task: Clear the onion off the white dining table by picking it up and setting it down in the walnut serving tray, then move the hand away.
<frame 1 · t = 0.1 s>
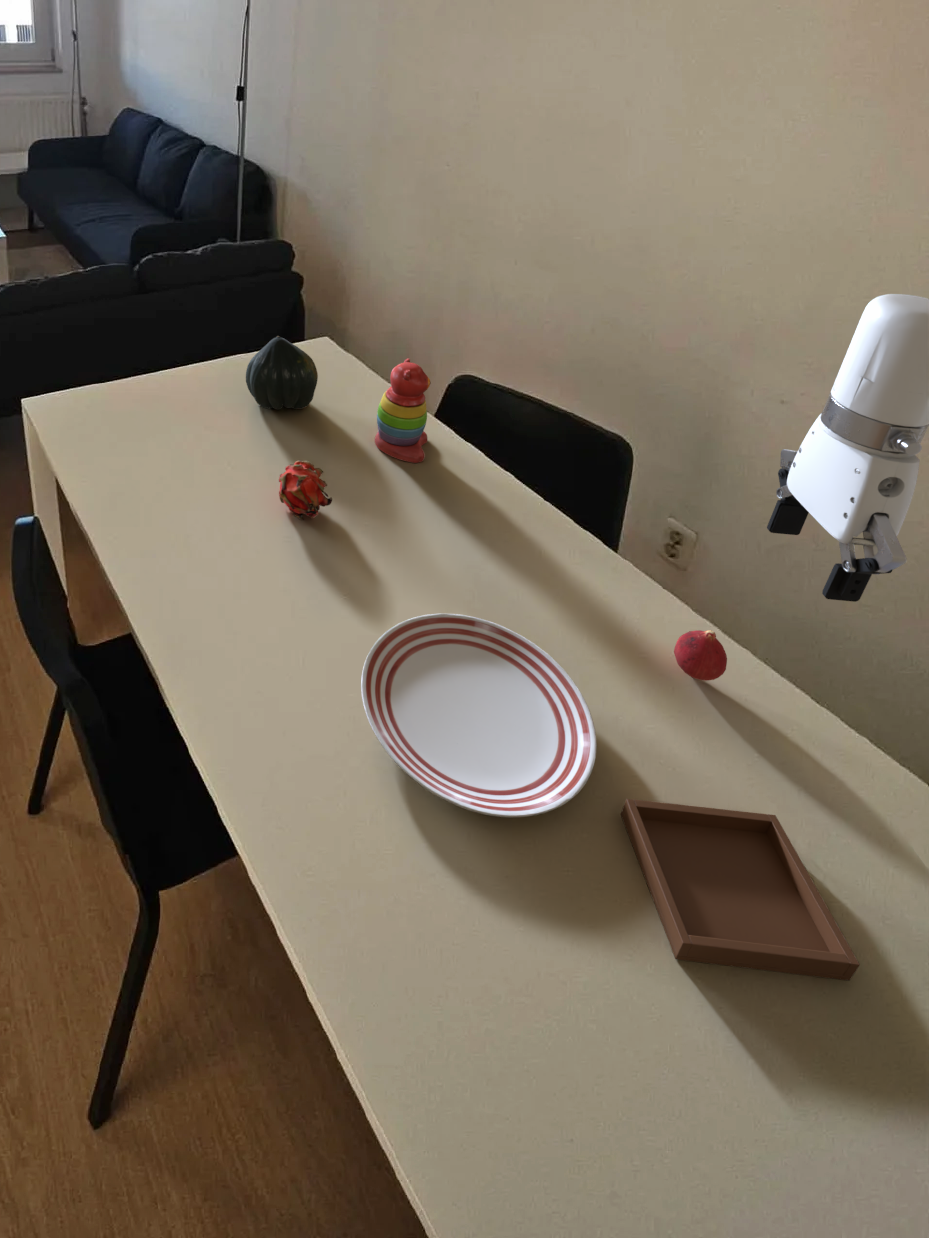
hand: (809, 563, 79), 29 cm above the table, tool pointing down, fingers open, 9 cm apart
dragon fruit: (301, 508, 130), on the table
squash: (279, 402, 162), on the table
stacking bear: (399, 445, 149), on the table
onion: (691, 676, 101), on the table
dinner plate: (470, 718, 94), on the table
tray: (724, 890, 77), on the table
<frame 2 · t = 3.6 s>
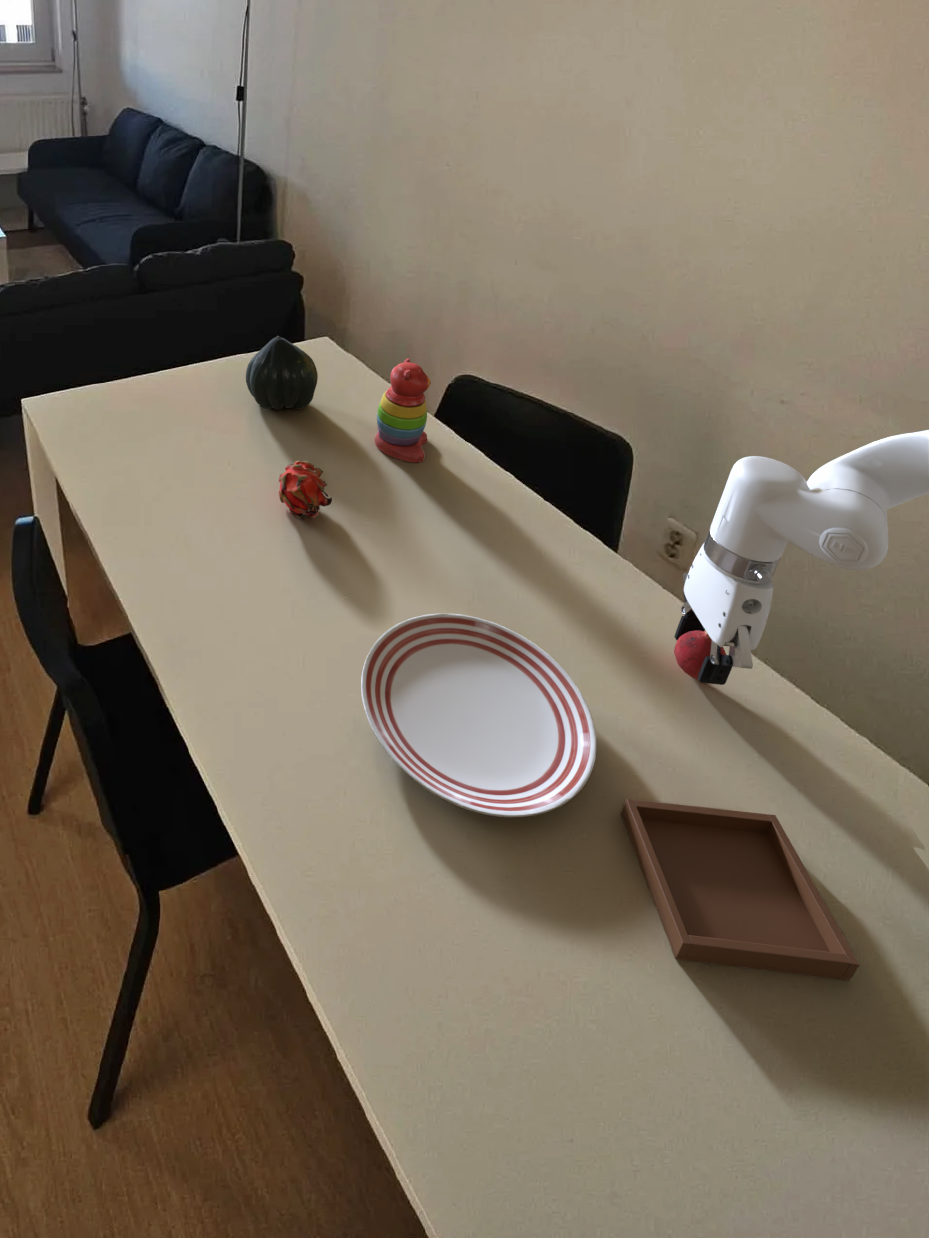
hand: (698, 659, 100), 3 cm above the table, tool pointing down, fingers closed on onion, 5 cm apart
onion: (691, 676, 101), on the table, touching gripper
everything else where it was.
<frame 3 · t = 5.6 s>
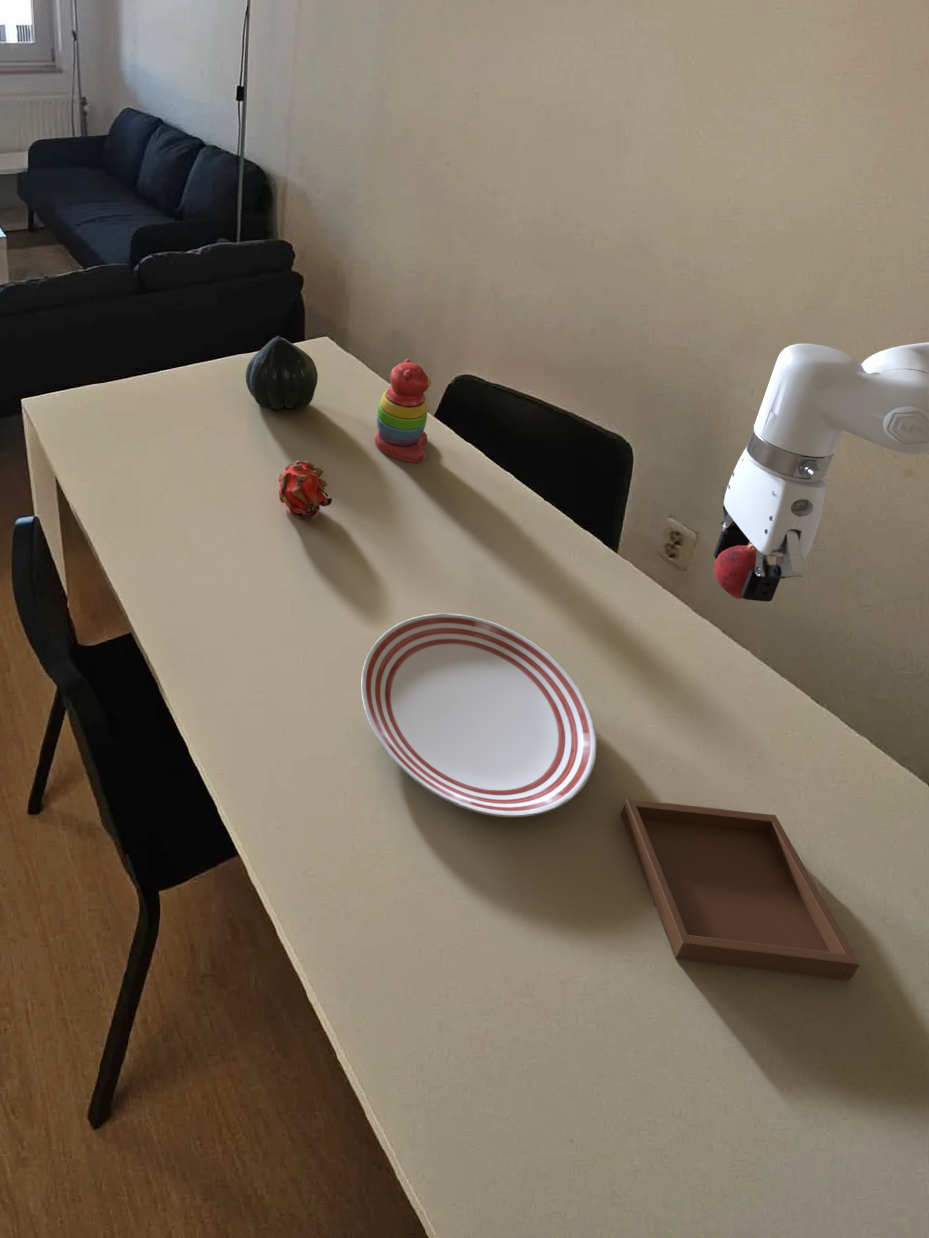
hand: (741, 577, 91), 19 cm above the table, tool pointing down, fingers closed on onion, 5 cm apart
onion: (733, 597, 93), point 16 cm above the table, touching gripper
everything else where it was.
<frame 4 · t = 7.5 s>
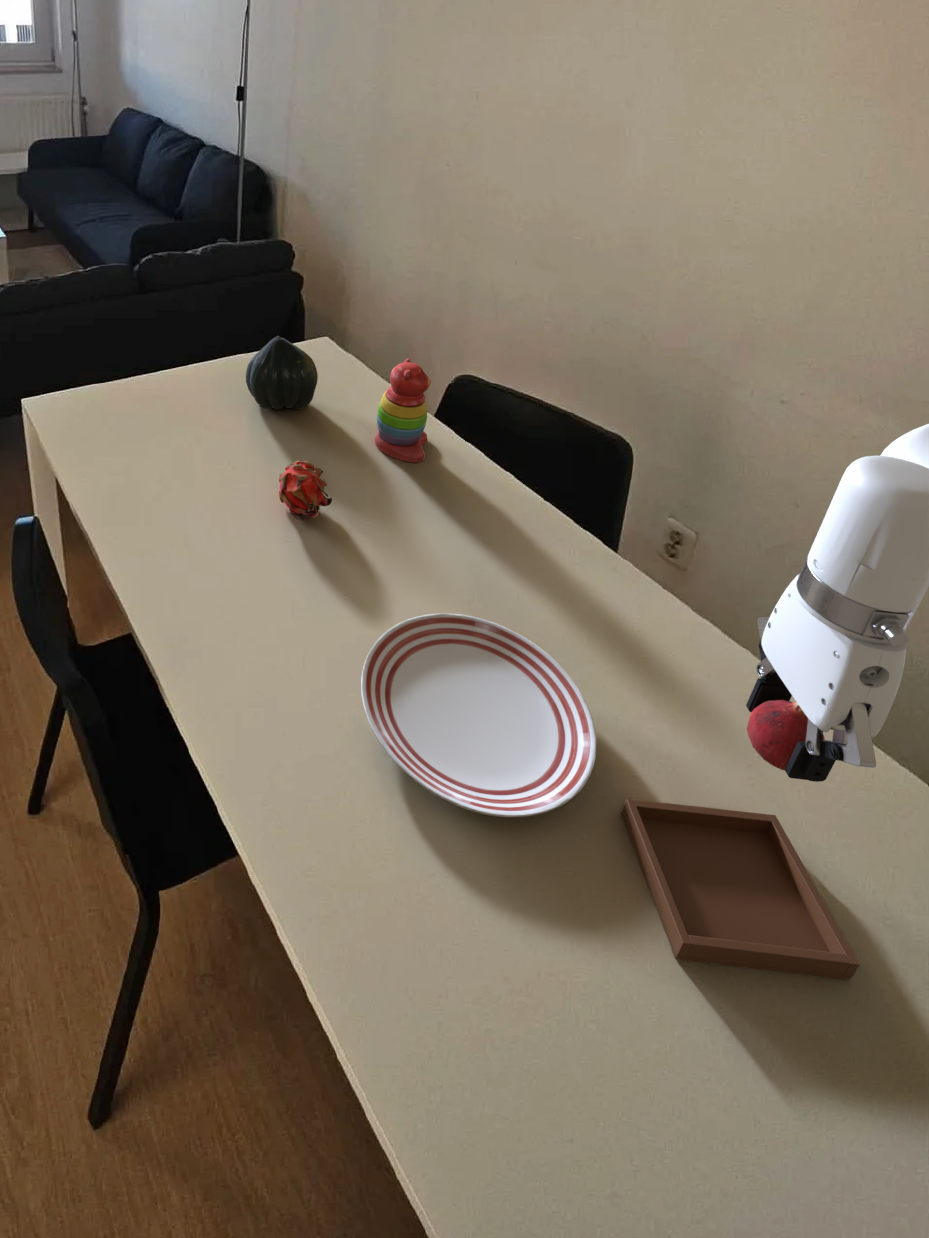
hand: (783, 741, 71), 19 cm above the table, tool pointing down, fingers closed on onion, 5 cm apart
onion: (771, 764, 72), point 16 cm above the table, touching gripper
everything else where it was.
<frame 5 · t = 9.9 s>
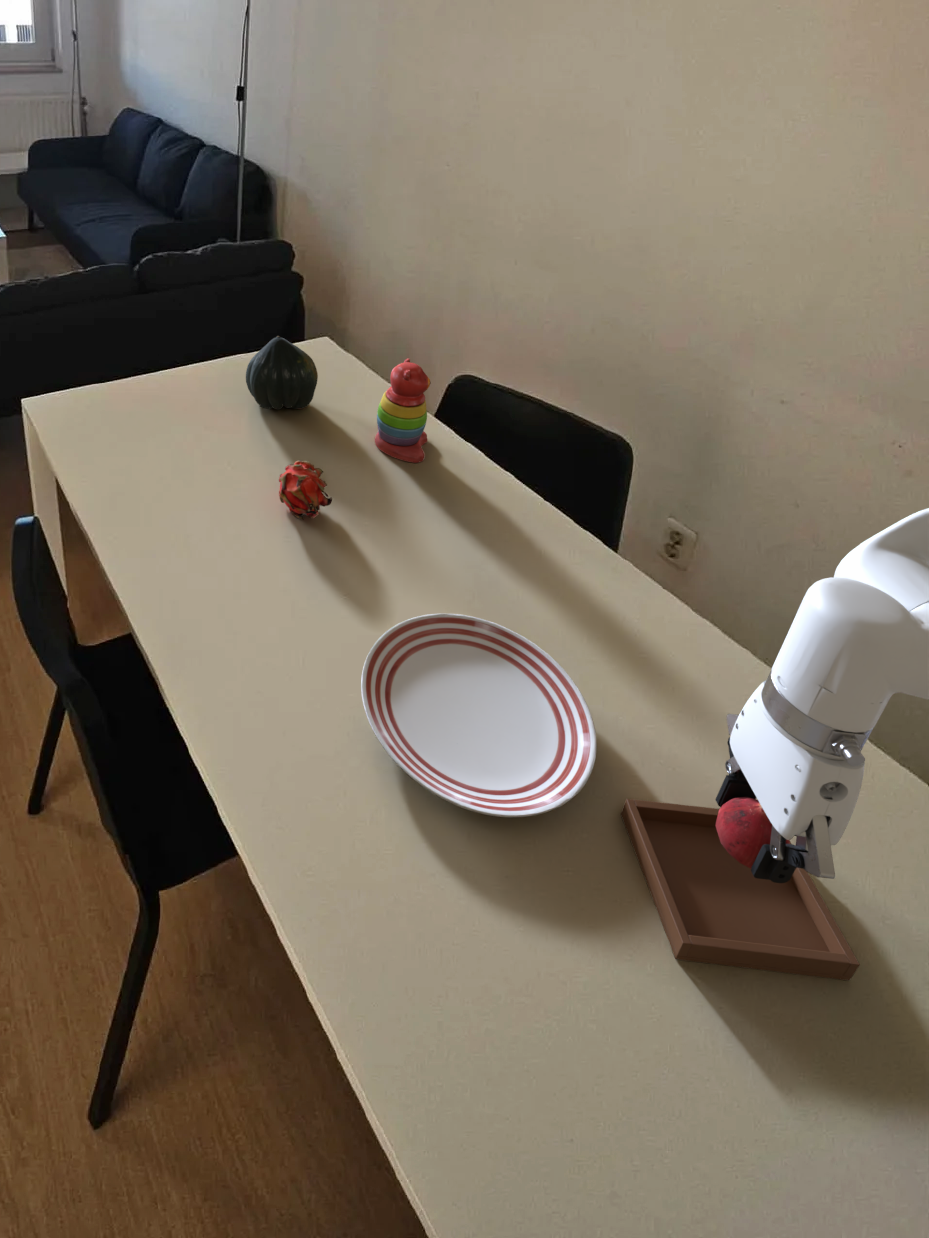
hand: (750, 838, 73), 8 cm above the table, tool pointing down, fingers closed on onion, 5 cm apart
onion: (739, 858, 75), point 5 cm above the table, touching gripper
everything else where it was.
when the fingers open (4 cm above the table, at t = 11.6 s): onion stays where it is, resting on tray.
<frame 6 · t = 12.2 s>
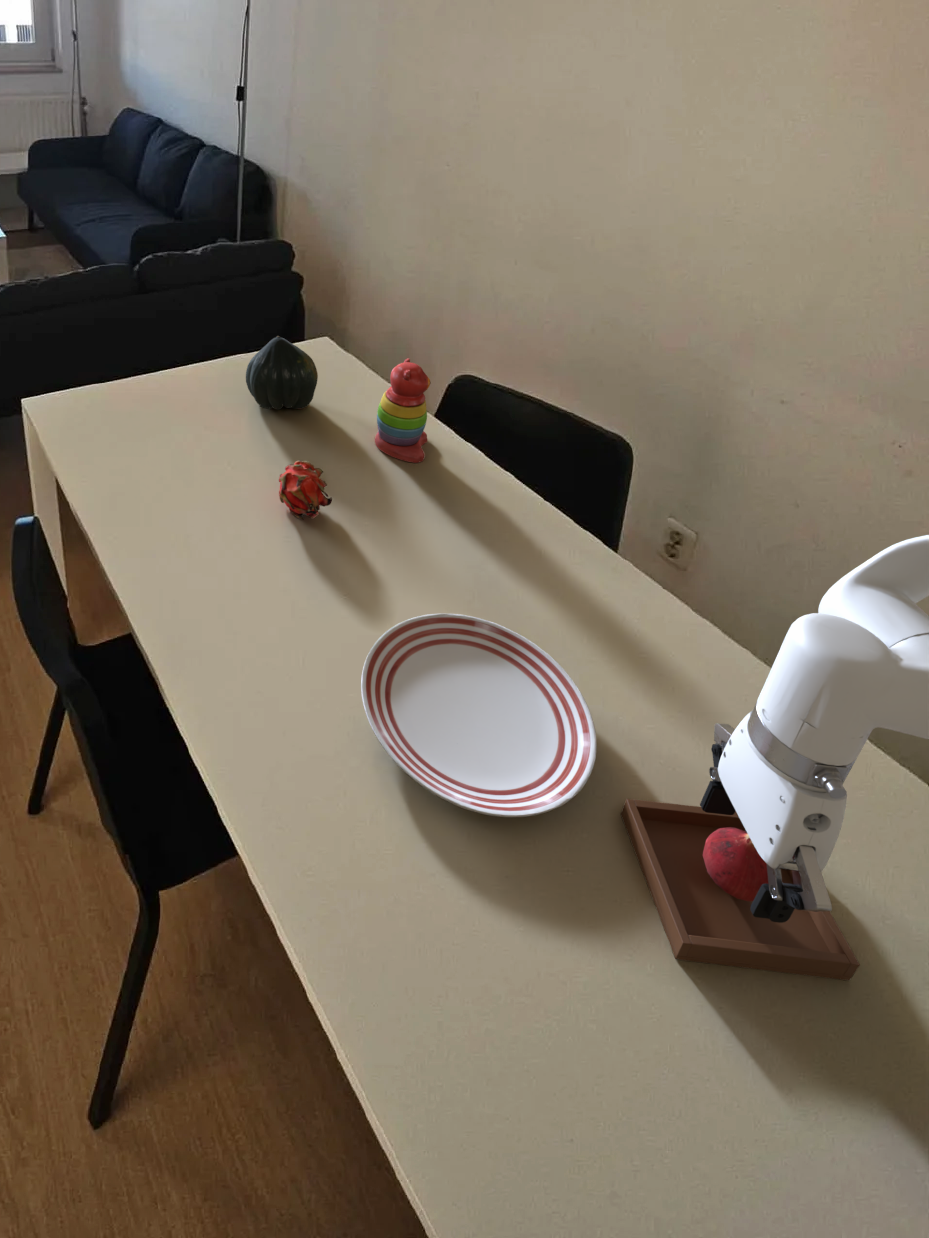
hand: (740, 859, 75), 5 cm above the table, tool pointing down, fingers open, 9 cm apart
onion: (726, 887, 77), resting on tray
everything else where it was.
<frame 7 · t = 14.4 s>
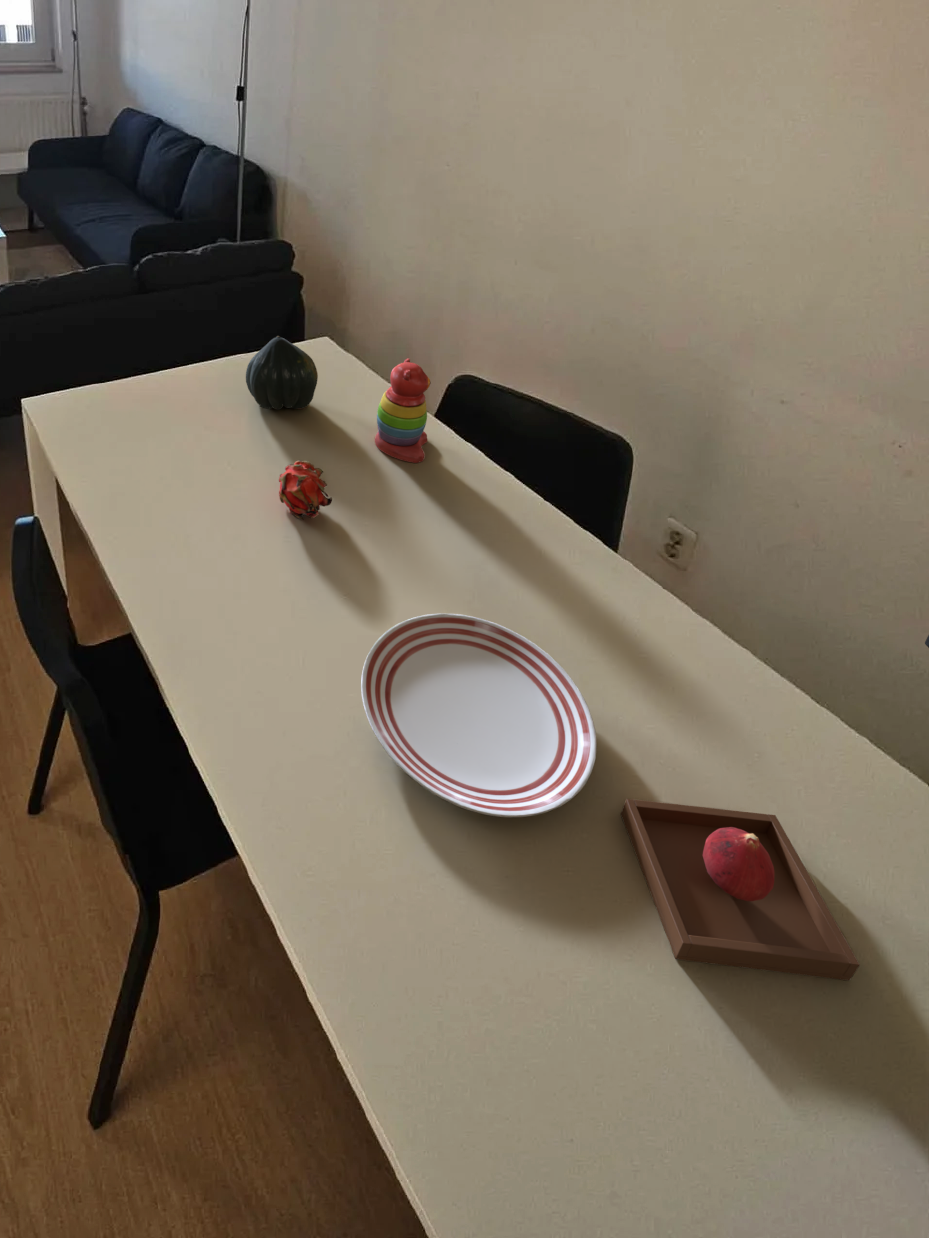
nothing on the table moved.
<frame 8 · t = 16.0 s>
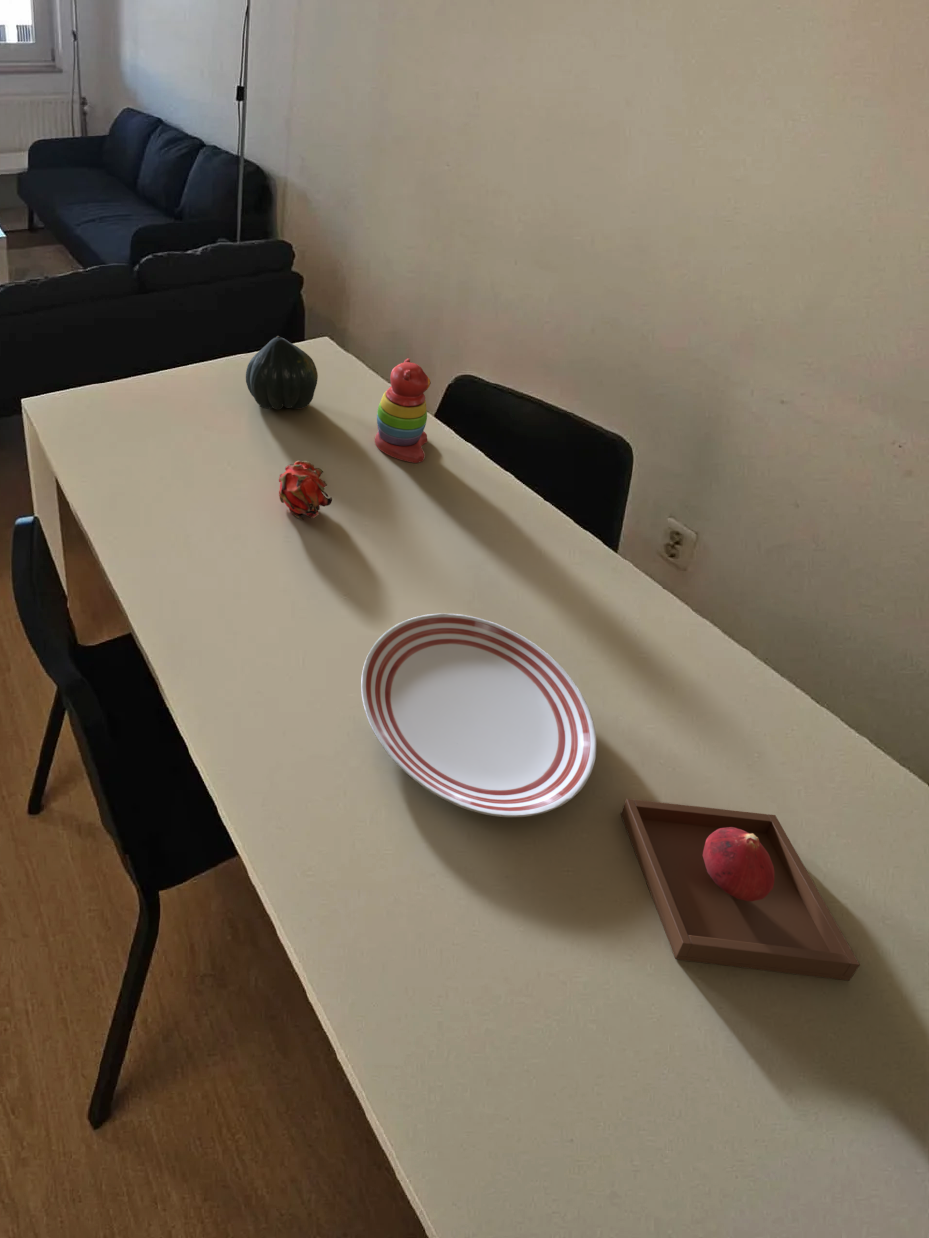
nothing on the table moved.
at the end: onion inside the target area in the tray (0.0 cm from its centre), point 0.4 cm above the tray's base; the gripper is holding nothing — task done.
